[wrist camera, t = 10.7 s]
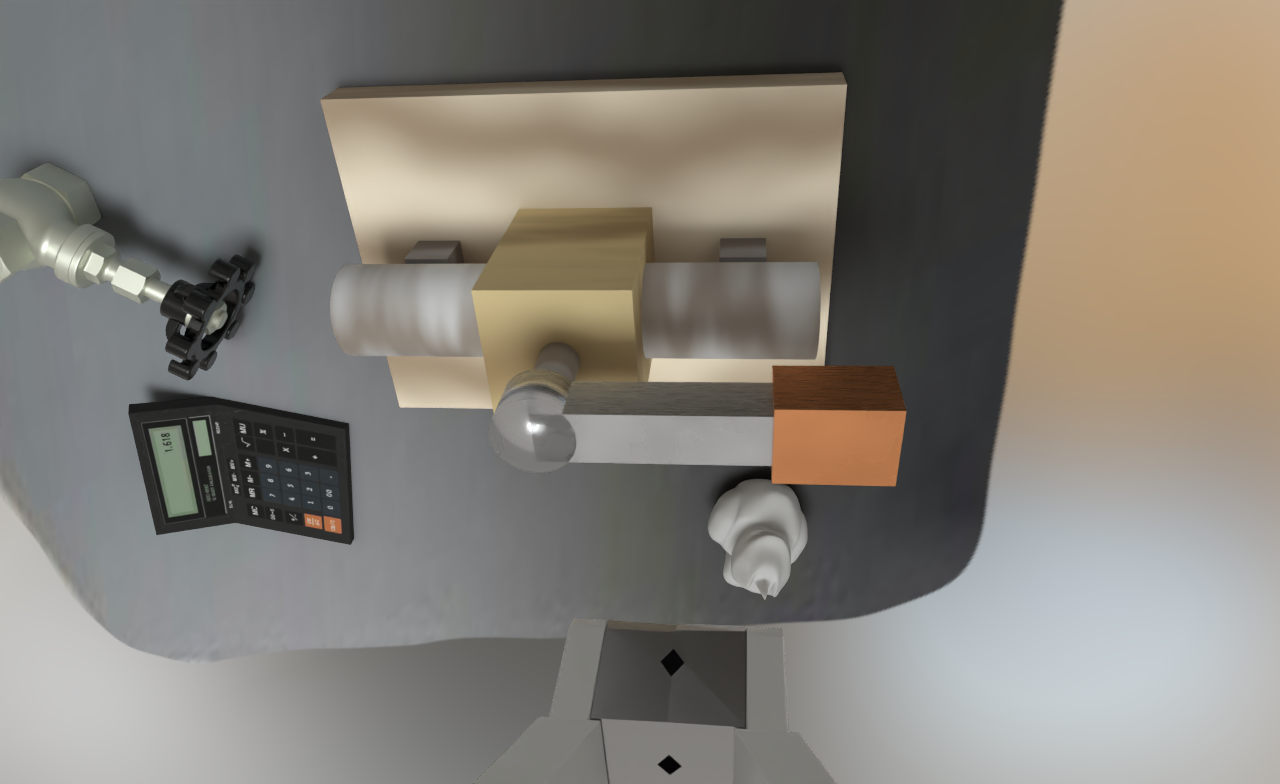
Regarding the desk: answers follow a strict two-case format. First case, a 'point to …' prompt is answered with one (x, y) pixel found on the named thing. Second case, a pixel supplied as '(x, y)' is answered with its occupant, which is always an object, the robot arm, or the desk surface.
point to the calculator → (244, 467)
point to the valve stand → (587, 229)
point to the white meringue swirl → (759, 534)
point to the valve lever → (711, 423)
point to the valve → (115, 263)
